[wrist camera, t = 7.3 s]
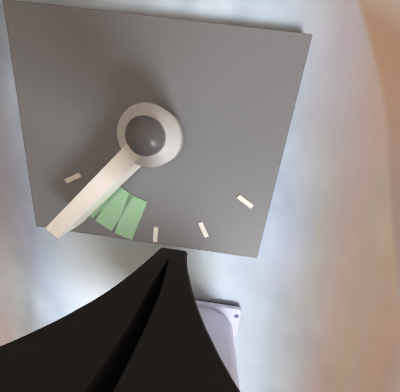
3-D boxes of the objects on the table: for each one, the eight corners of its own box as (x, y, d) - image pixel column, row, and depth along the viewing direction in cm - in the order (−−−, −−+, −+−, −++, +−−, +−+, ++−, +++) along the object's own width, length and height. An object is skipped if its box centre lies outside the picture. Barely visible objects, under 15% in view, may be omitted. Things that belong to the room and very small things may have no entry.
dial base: (254, 251, 19) (257, 258, 18) (45, 221, 20) (35, 226, 19) (305, 41, 14) (313, 33, 13) (16, 8, 14) (1, -3, 13)
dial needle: (160, 98, 14) (143, 84, 11) (195, 139, 15) (189, 139, 11) (62, 202, 17) (22, 218, 14) (94, 232, 18) (65, 255, 14)
